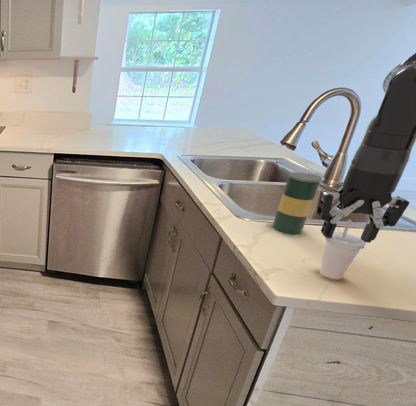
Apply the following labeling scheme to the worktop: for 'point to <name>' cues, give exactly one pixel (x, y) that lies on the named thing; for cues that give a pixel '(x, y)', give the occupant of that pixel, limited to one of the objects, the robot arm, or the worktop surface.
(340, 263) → the smoothie
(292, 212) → the tin can
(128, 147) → the worktop surface
